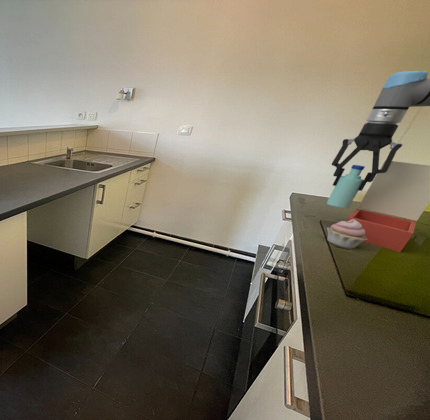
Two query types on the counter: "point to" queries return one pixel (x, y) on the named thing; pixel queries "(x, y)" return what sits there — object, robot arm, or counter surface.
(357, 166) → the bottle
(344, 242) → the cupcake
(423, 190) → the lid
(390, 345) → the counter surface
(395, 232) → the box
